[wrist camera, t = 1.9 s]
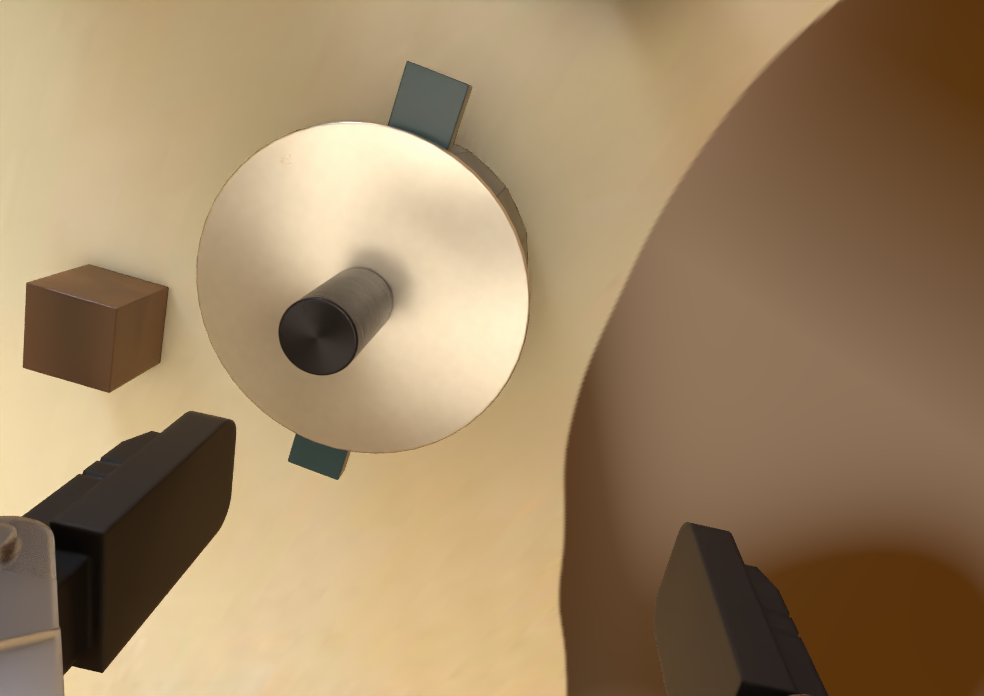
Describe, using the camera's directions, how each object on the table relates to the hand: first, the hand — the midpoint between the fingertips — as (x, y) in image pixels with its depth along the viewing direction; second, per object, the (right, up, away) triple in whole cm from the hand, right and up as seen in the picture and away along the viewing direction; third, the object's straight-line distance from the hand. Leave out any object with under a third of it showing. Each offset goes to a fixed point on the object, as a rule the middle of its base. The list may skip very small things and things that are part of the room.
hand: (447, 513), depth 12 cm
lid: (-4, +5, +15) cm, 16 cm away
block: (-19, +5, +25) cm, 32 cm away
